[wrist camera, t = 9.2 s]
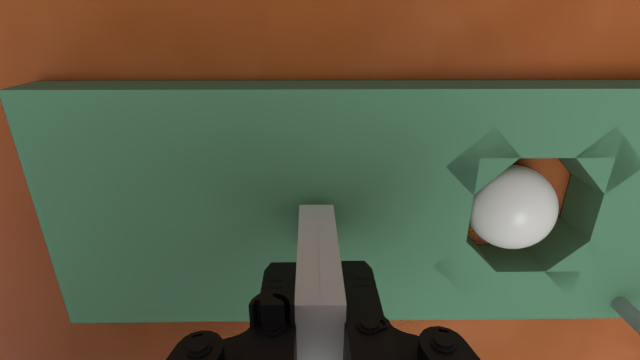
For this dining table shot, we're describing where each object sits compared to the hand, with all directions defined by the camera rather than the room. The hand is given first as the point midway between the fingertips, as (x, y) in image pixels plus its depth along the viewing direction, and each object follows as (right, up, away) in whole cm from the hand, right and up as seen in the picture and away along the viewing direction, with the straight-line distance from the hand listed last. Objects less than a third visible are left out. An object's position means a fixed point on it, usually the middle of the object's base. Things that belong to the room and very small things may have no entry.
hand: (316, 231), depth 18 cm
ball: (+9, +1, +1) cm, 9 cm away
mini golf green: (+2, +1, +3) cm, 4 cm away
